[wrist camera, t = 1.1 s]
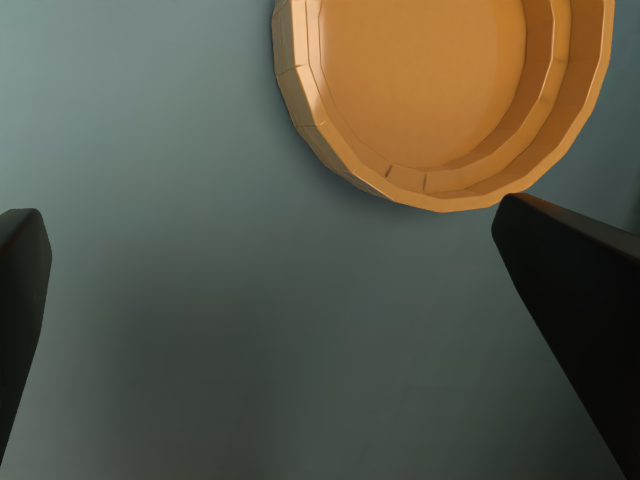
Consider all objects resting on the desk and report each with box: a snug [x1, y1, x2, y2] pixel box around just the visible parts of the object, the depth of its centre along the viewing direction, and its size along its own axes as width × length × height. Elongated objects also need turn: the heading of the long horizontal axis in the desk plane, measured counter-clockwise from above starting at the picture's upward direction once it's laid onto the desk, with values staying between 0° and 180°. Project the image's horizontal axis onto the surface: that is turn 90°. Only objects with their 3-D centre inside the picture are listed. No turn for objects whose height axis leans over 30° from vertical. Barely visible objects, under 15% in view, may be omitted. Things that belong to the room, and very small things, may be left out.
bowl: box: [271, 0, 615, 213], centre depth 20 cm, size 14×14×4 cm
